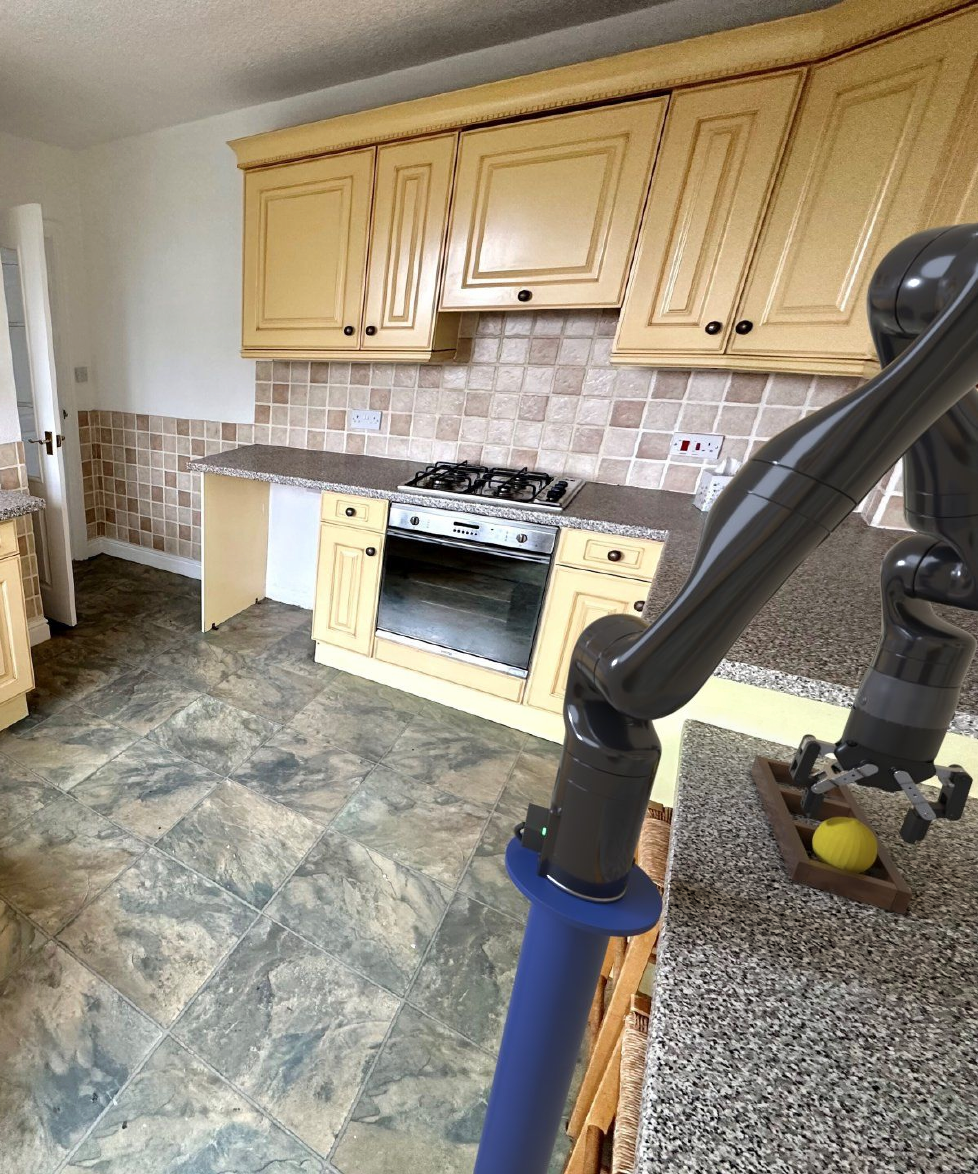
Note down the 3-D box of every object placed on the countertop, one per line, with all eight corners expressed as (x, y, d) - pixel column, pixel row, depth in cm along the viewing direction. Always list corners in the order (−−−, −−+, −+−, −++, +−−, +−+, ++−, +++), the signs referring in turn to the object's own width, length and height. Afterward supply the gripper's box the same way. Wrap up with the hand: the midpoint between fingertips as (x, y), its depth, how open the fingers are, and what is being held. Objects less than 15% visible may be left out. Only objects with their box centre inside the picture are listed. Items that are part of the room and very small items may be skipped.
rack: (791, 881, 78) (798, 861, 77) (750, 771, 100) (755, 755, 99) (903, 915, 73) (913, 894, 72) (834, 791, 95) (841, 774, 94)
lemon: (872, 894, 76) (895, 840, 74) (811, 877, 79) (831, 824, 76) (855, 865, 81) (876, 813, 78) (798, 850, 83) (817, 799, 81)
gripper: (977, 711, 72) (927, 830, 77) (809, 682, 79) (773, 792, 84) (1010, 742, 66) (954, 868, 71) (825, 707, 73) (786, 824, 78)
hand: (856, 827), depth 77 cm, fingers open, 8 cm apart
